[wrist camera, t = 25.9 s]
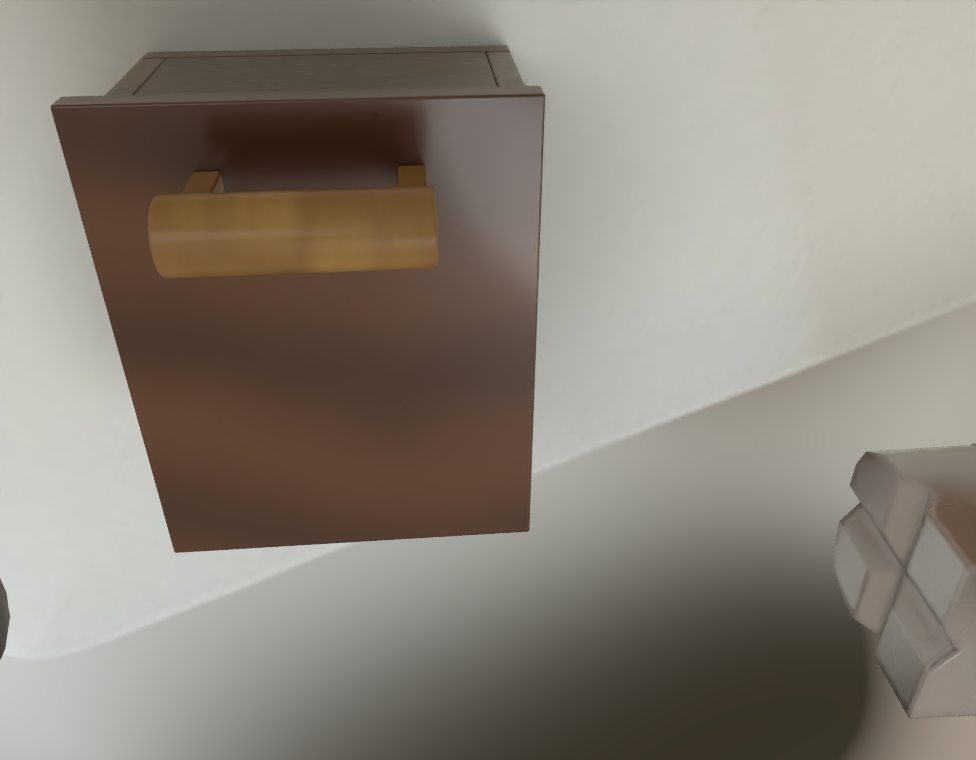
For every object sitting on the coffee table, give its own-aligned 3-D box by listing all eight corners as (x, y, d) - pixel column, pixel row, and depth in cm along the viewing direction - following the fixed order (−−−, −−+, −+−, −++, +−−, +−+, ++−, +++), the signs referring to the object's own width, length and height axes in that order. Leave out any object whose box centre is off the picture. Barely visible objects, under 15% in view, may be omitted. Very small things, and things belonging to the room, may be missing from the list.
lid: (60, 96, 21) (-21, 165, 17) (541, 85, 21) (573, 148, 18) (179, 536, 29) (143, 654, 25) (526, 515, 29) (546, 626, 26)
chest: (146, 51, 28) (69, 129, 21) (507, 44, 28) (539, 117, 22) (220, 400, 35) (179, 535, 29) (503, 386, 36) (526, 514, 30)
